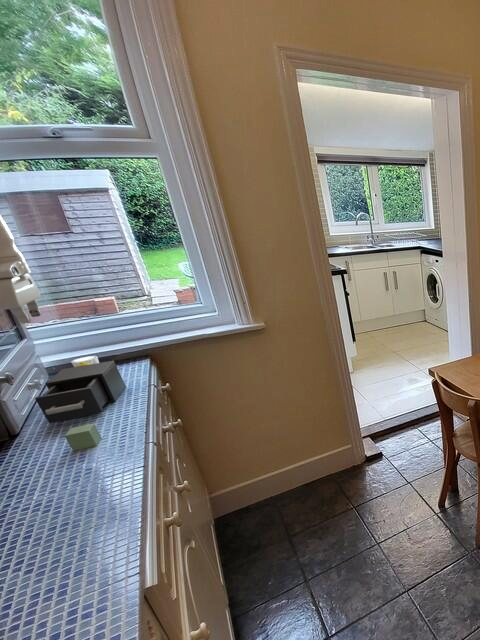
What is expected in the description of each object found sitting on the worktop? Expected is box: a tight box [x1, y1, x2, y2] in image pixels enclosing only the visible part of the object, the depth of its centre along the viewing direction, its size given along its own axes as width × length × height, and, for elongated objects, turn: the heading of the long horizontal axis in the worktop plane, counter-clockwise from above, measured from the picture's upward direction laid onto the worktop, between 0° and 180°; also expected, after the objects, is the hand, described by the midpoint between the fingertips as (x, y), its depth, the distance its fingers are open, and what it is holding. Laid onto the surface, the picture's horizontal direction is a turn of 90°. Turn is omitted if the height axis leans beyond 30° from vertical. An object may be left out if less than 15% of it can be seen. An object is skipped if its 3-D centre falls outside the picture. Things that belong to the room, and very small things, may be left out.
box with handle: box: [44, 360, 127, 405], centre depth 129 cm, size 14×13×10 cm
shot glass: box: [70, 355, 100, 367], centre depth 148 cm, size 7×7×7 cm
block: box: [64, 423, 103, 452], centre depth 104 cm, size 4×4×4 cm
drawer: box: [34, 376, 110, 424], centre depth 119 cm, size 17×11×8 cm
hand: (31, 319), depth 114 cm, fingers open, 8 cm apart
